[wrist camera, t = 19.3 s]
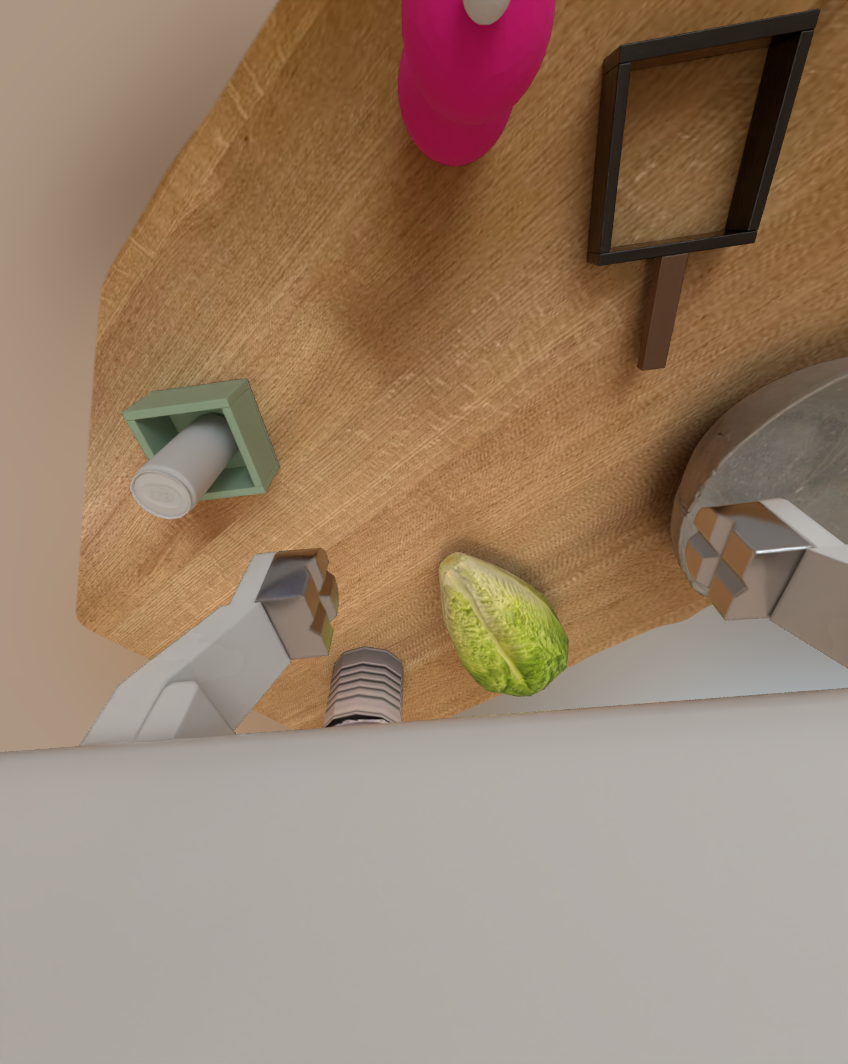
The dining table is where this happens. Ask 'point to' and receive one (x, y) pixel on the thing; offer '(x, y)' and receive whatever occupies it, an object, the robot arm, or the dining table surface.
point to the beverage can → (185, 468)
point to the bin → (232, 400)
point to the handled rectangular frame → (756, 170)
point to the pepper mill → (467, 70)
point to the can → (365, 689)
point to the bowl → (774, 454)
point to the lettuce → (500, 627)
